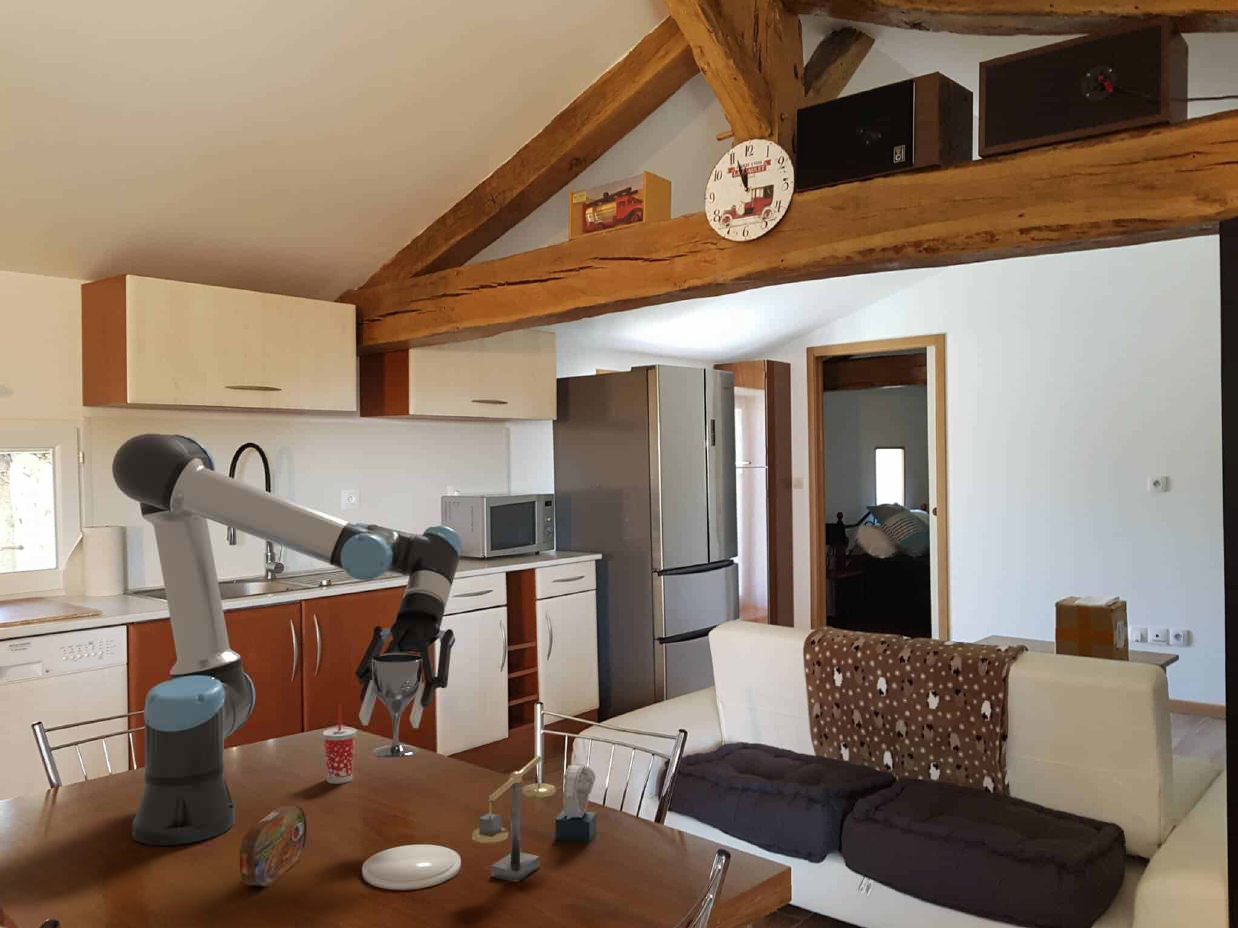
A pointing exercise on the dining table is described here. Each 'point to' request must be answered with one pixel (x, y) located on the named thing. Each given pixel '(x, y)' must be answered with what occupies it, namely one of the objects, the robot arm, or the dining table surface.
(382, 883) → the dish
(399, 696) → the wine glass
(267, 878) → the tin
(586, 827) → the watch
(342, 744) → the beverage cup
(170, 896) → the dining table surface
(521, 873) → the balance
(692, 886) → the dining table surface
